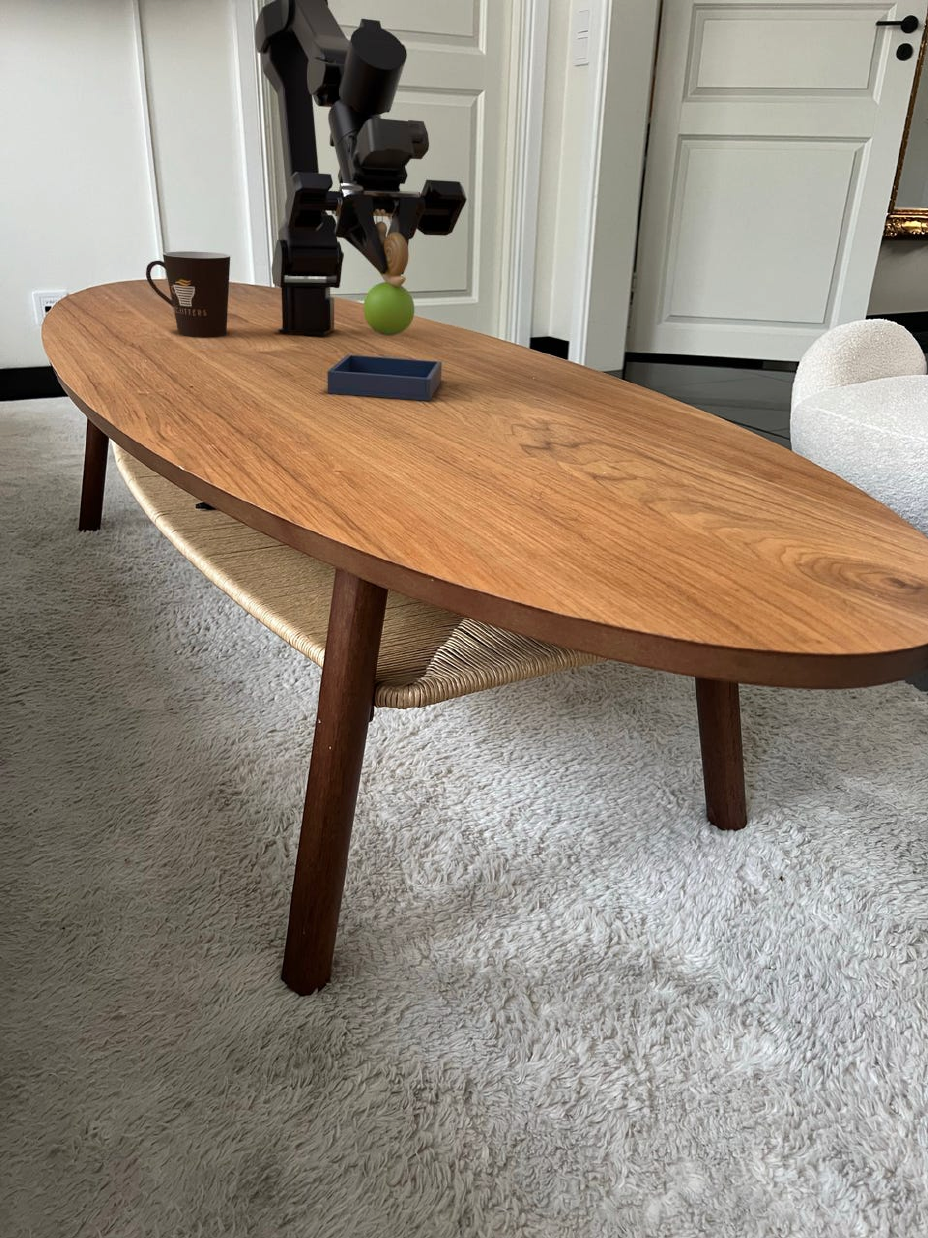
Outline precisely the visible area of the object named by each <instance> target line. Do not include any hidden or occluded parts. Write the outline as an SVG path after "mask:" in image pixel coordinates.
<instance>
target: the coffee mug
mask: <svg viewBox="0 0 928 1238" xmlns="http://www.w3.org/2000/svg"><path fill="white" fill-rule="evenodd" d="M162 258H163V261H162V260H152V261H151V262H149V263H148V264H147V265H146V269H145V276H146V280H147V283H148V284H149V286H150V287H151V289H152V290H153V291H154V292H155V293H156V295H158V296H159V297H160V298H161V299H162V300H163V301H165V302H166V303H167V304H168V305H169V306H171V307H172V308H173V314H174V319H175V323H176V328H177V329H176V330H177V334H179V335H181V336H185V337H193V338H194V337H195V338H213V337H214V338H215V337H222V336H225V335H227V332H228V331H227V330H228V329H227V328H228V311H229V292H230V291H229V289H230V273H231V255H230V254H227V253H221V252H214V251H213V252H212V251H211V252H210V251H196V250H195V251H193V250H191V251H190V250H189V251H187V250H183V251H181V250H180V251H178V250H177V251H166V252H163V253H162ZM155 266H161V267H162V268H164V269H165V273H166V277H167V283H168V288H169V293H170V297H168V296H167V295H166V294H165V293H164V292H162V291H161V290H160V289H159V288H158V287H157V285H156V284H155V283H154V281H153V280H152V275H151V272H152V269H153V268H154V267H155Z"/></svg>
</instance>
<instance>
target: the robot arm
mask: <svg viewBox="0 0 928 1238" xmlns="http://www.w3.org/2000/svg"><path fill="white" fill-rule="evenodd" d="M254 29H255V30H254V33H255V34H254V35H255V36H254V40H255V41H254V42H255V48H256V51H257V53H258V54H260V59H261V67H262V72H263V75H264V76H265V78H266V79H267V80H268V82H269V84H270V85H271V86H272V88H273V90H274V91H275V93H276V96H277V107H278V115H279V117H278V118H279V126H280V127H279V128H280V137H281V147H282V148H281V149H282V160H283V168H284V169H283V170H284V180H285V191H286V200H285V204H284V215H285V216H284V218H283V220H282V223H281V225H280V227H279V228H278V239H276V243H275V248H274V253H273V258H272V261H271V262H272V263H271V267H270V268H271V279H272V284H273V285H275V286H276V287H278V288H280V290H281V291H280V292H281V315H282V316H281V319H282V326H281V327H280V328H279V329H278V333H282V334H295V335H307V336H318V337H319V336H321V337H324V336H326V335H327V334H329V333H331V332H332V331H333V330H334V329H335V298H334V297H332V296H331V288H334V289H340V287H341V280H342V271H343V263H344V257H345V253H344V251H342V245H341V242H340V241H338V239H344V240H345V241H347V242H348V243H349V244H350V245H351V246H352V247H353V248H354V249H356V250H357V251H358V252H359V253H360V254H361V255H362V256H363V257H364V258H365V259H366V260H367V261H368V262H369V263H370V264H371V265H372V266H373V268H375V269H376V270H377V272H378V273H379V272H380V273H381V274H385V273H386V270H387V263H386V258H385V253H384V250H383V247H382V243H381V240H380V237H379V234H378V230H377V227H376V221H375V217H376V216H377V217H382V215H381V213H380V214H379V215H376V214H375V210H376V209H379V210H380V211H381V210H382V209H383V210H385V214H384V215H383V217H387V218H388V220H389V224H390V226H389V228H388V230H387V233H386V237H387V236H388V235H389V234H390V233H394V232H396V233H400V234H401V235H402V236H403V237H404V238H405V240H406V242H407V246H408V247H409V243H410V240H412V239H413V238H414V237H415V234H416V232H417V231H419V232H420V233H421V234H423V235H424V236H441V237H442V236H443V237H444V236H445V237H446V236H448V235H450V234H452V233H453V231H454V229H455V227H456V225H457V223H458V220H459V218H460V216H461V214H462V211H463V209H464V207H465V204H466V203H467V195H466V193H465V189H464V186H463V185H462V183H461V181H457V180H443V179H442V180H441V179H427V178H426V180H425V182H424V185H423V188H422V190H421V192H420V191H412V190H411V191H410V190H401V187H400V186H401V185H405V184H406V182H407V178H408V176H409V175H408V172H407V168H406V166H408V163H409V162H410V161H411V160H422V159H423V158H424V157H425V155H426V154H427V153H428V152H429V150H430V149H429V148H430V139H429V133H428V130H427V127H426V124H425V122H424V120H415V119H414V120H413V119H408V120H403V119H402V120H401V119H391V118H382V116H381V115H383V114H385V113H386V114H388V113H390V112H391V110H392V107H393V104H394V100H395V97H396V94H397V90H398V87H399V83H400V80H401V78H402V74H403V72H404V71H403V70H404V67H405V64H406V61H407V57H408V55H407V53H408V52H407V48H406V46H405V45H404V44H403V43H402V42H401V40H399V39H398V37H396V36H395V35H394V34H393V33H391V32H390V31H389V30H386V29H384V28H383V27H382V25H381V21H380V20H377V19H376V20H375V19H368V18H360V22H359V26H358V28H356V29H355V30H354V31H352V34H351V36H350V40H349V39H348V38H347V36H346V34H345V33H344V31H343V30H342V28H341V26H340V25H339V23H338V21H337V19H336V17H335V16H334V14H333V13H332V11H331V9H330V7H329V1H328V0H272V1H271V2H269V3H268V4H266V5H264V6H262V7H261V9H260V11H259V15H258V18H257V20H256V23H255V28H254ZM314 103H315V104H316V105H317V107H321V108H322V107H323V108H330V109H329V111H328V115H327V120H328V125H329V130H330V134H329V146H330V147H333V148H334V149H335V154H336V158H337V162H338V166H339V168H338V169H339V170H338V173H337V179H338V183H339V187H338V190H331V189H332V188H333V184H334V181H333V177H332V174H331V173H320V171H319V169H320V168H319V157H318V147H317V133H316V123H315V110H314ZM328 212H331V214H329V213H328ZM335 217H336V218H335ZM405 271H406V269H405V270H404V272H403V273H402V274H401V276H404V274H405ZM380 273H379V274H380ZM285 276H287V277H308V278H286V277H285ZM309 277H311V278H309ZM312 277H314V278H312ZM316 277H317V278H316ZM319 277H321V278H319ZM322 277H323V278H322ZM324 277H325V278H324Z"/></svg>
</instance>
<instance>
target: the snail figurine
mask: <svg viewBox="0 0 928 1238" xmlns="http://www.w3.org/2000/svg"><path fill="white" fill-rule="evenodd" d="M380 213H381V215H382V216H381V221H378V216H375V217H376V218H375V220H376V221H375V224H376V227H377V230H378V234H379V237H380V240H381V243H382V247H383V250H384V253H385V258H386V263H387V270H386V273H385V274H381V273H380V272H379V271H378V273H379V275H380V277H382V280H383V281H382V282H379V283H378V284H376V285H374V286H373V287H372V288H370V289H369V290H368V292H367V294H366V296H365V298H364V301H363V315H364V319H365V321H366V322H367V324H368V326H369V327H370V328H371V329H372V330H373V331H375V332H376V333H378V334H380V335H383V336H396V335H400V334H402V333H403V332H404V331H406V330H407V329H408V328H409V327H410V325H411V323H412V322H413V320H414V317H415V303H414V300H413V296H412V295H411V293H410V292H409V290H408V289H406V288H405V287H404V286H403V285H404V283H405V282H406V279H407V278H406V276H404V275H402V273H403V272H404V273H405V271H406V269H407V266H408V264H409V253H410V252H409V245H408V246H407V242H406V240H405V238H404V237H403V236H402V235H401V234H400V233H396V232H394V233H390V234H389V235H388V236H387V233H388V226H387V224H386V223H385V222H384V221H383V217H384V216H383V215H384V214H385V210H383V209H382V210H381V211H380V210H379V209H376V210H375V214H376V215H379V214H380ZM404 270H405V271H404Z"/></svg>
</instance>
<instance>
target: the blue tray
mask: <svg viewBox="0 0 928 1238" xmlns="http://www.w3.org/2000/svg"><path fill="white" fill-rule="evenodd" d="M442 365H443V363H442V361H437V360H428V359H427V360H426V359H425V360H424V359H413V358H402V357H401V358H399V357H388V356H387V357H385V356H376V355H375V356H373V355H362V354H361V355H360V354H349V353H348V354H347V355H344V357H343V358H341V359H340V360H339V361H338V362H336V364H334V365H333V366H331V368H330V369H328V371H327V375H326V376H327V379H326V380H327V393H328V394H334V395H345V396H346V395H348V396H349V395H350V396H360V397H371V398H372V397H373V398H384V399H385V398H386V399H396V400H397V399H398V400H407V401H408V400H410V401H422V402H430V401H431V400H432V398H433V396H434V394H435V393H436V391H437V389H438V388H439V386H440V384H441V382H442V368H443V367H442Z"/></svg>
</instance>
